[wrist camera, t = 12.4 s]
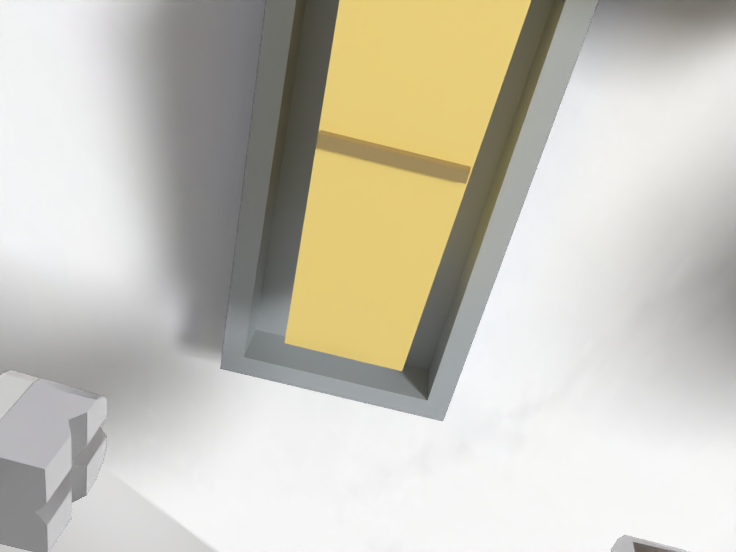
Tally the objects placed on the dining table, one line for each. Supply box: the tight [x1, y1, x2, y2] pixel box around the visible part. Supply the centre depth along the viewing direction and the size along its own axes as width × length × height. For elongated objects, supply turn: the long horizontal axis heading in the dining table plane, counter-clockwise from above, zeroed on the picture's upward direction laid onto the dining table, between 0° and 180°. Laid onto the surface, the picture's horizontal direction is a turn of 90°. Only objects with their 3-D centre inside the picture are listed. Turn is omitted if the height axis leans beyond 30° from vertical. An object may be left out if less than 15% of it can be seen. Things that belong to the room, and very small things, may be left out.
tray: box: [220, 0, 599, 421], centre depth 19 cm, size 14×7×2 cm, turn 168°
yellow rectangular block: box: [284, 0, 531, 371], centre depth 16 cm, size 10×3×5 cm, turn 168°
